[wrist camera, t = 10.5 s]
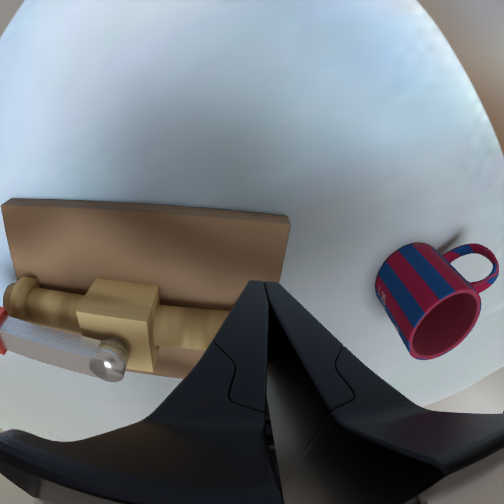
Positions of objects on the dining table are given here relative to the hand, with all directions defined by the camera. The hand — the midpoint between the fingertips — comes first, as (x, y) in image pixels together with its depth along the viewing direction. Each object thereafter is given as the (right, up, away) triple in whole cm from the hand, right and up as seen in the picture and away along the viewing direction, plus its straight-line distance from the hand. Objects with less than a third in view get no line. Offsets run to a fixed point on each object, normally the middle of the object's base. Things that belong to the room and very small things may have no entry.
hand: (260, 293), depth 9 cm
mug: (+15, 0, +15) cm, 21 cm away
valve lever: (-15, -5, +8) cm, 18 cm away
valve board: (-10, -2, +14) cm, 18 cm away
